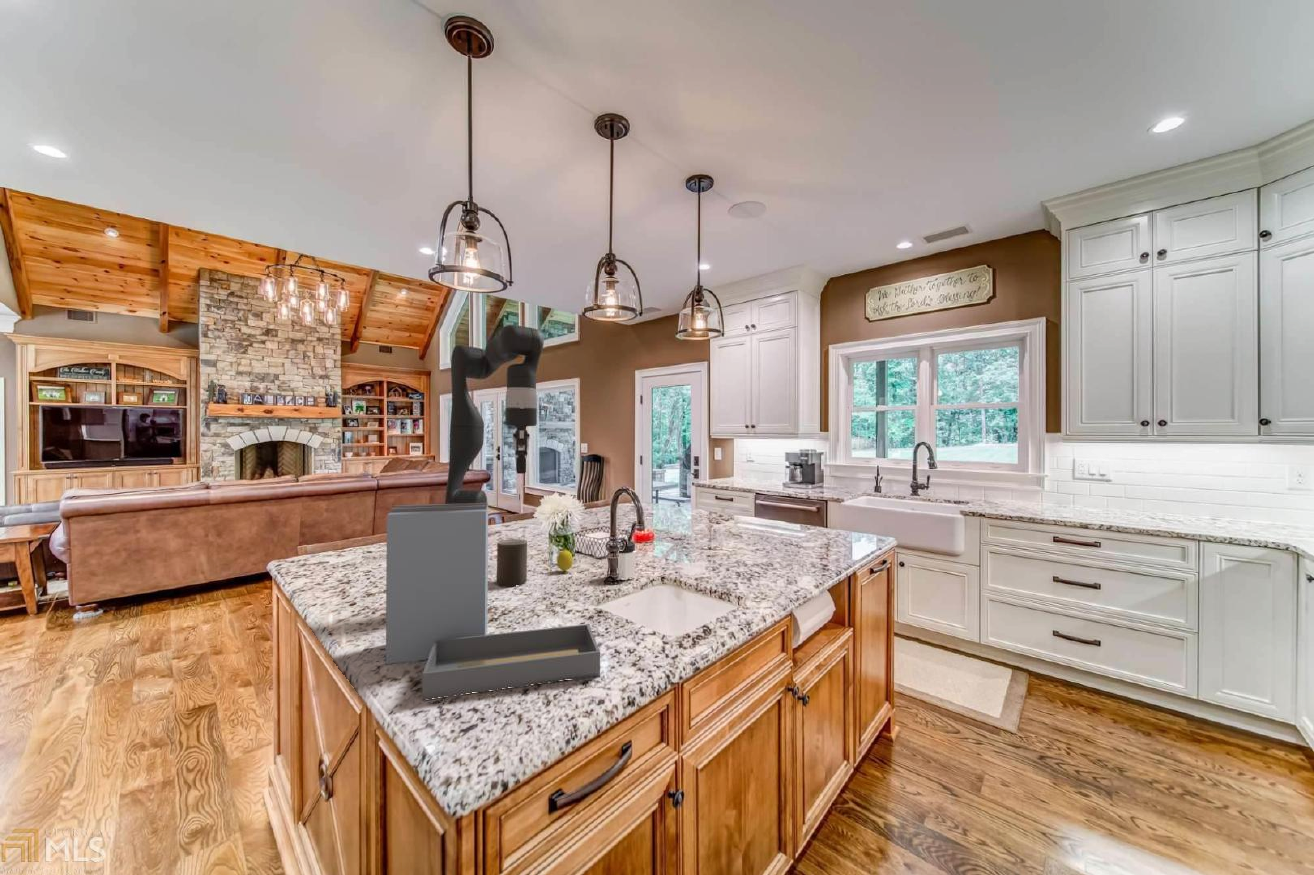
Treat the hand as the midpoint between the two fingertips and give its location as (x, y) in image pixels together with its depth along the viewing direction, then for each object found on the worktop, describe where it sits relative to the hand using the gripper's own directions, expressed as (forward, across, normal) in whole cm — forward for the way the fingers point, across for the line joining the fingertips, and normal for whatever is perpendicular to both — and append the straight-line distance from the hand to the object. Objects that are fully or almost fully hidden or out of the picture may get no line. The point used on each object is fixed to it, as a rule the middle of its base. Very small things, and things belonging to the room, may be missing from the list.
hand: (520, 472), depth 120 cm
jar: (+40, -39, +35) cm, 66 cm away
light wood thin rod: (+38, +20, 0) cm, 43 cm away
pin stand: (+40, +3, -18) cm, 44 cm away
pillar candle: (+40, -43, -2) cm, 59 cm away
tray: (+40, +19, -1) cm, 45 cm away
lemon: (+40, -51, +17) cm, 67 cm away
